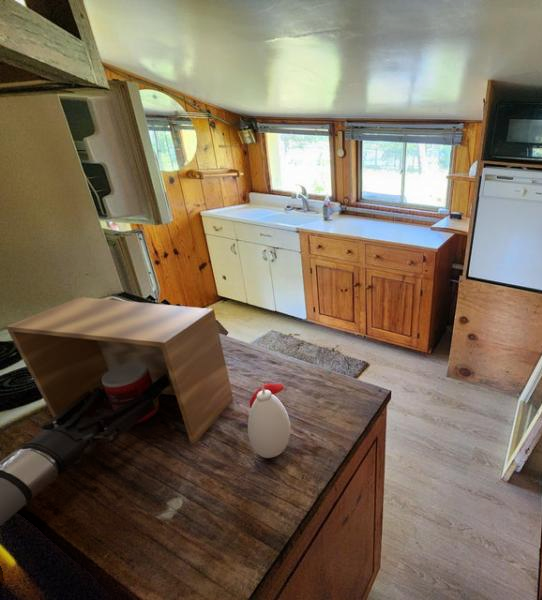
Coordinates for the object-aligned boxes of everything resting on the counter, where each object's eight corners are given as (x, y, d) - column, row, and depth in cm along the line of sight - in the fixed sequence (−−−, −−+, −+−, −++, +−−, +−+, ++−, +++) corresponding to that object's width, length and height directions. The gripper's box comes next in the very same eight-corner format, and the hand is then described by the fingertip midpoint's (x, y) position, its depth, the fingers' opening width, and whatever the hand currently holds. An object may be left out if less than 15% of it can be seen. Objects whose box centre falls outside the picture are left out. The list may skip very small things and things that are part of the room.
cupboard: (57, 426, 71) (5, 326, 61) (115, 385, 84) (80, 296, 73) (195, 444, 68) (164, 342, 58) (233, 398, 81) (213, 309, 71)
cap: (260, 423, 74) (256, 402, 72) (246, 410, 77) (242, 390, 75) (290, 404, 80) (287, 384, 78) (276, 393, 83) (273, 374, 81)
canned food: (153, 395, 78) (140, 357, 73) (165, 411, 73) (152, 372, 69) (113, 413, 72) (96, 372, 68) (123, 431, 68) (106, 389, 63)
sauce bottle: (253, 442, 69) (240, 373, 62) (291, 433, 72) (283, 366, 64) (252, 473, 63) (237, 400, 55) (294, 462, 65) (285, 391, 58)
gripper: (-6, 470, 56) (113, 386, 77) (104, 485, 55) (195, 395, 75) (-27, 439, 53) (103, 359, 74) (88, 453, 52) (188, 368, 72)
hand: (149, 377), depth 75 cm, fingers closed on canned food, 8 cm apart
